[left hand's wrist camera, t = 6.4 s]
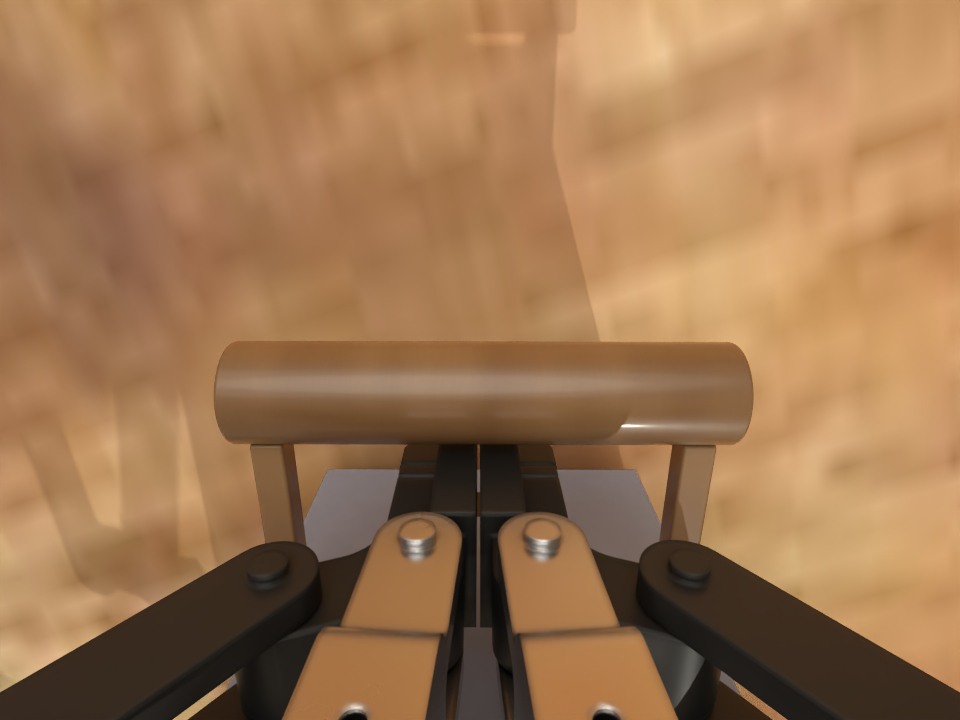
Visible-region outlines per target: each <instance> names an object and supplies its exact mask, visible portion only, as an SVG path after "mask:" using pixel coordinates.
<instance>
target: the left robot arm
mask: <svg viewBox="0 0 960 720" xmlns="http://www.w3.org/2000/svg"><path fill="white" fill-rule="evenodd" d="M476 586H477V445H466V444H408V445H407V446H406V447H405V449H404V454H403V458H402V462H401V466H400V470H399V474H398V478H397V483H396V487H395V491H394V495H393V499H392V503H391V507H390V512H389V516H388V520H387V522H386V523H384V524H383V525H382V526H381V527H380V528H379V529H378V531H377V532H376V534H375V536H374V538H373V541H372V543H371V544H370V545H369V546H367V547H366V548H364V549H362V550H360V551H358V552H355V553H353V554H350V555H347V556H343V557H339V558H335V559H330V560H326V561H322V562H318V558H317V555H316V554H315V552H314V551H313V550H312V549H310V548H309V547H307V546H306V545H304V544H301V543H297V542H291V541H277V542H270V543H265V544H262V545H258V546H256V547H253V548H251V549H249V550H247V551H245V552H243V553H241V554H239V555H238V556H236V557H234V558H232V559H231V560H229V561H227V562H225V563H224V564H222V565H220V566H218V567H217V568H215V569H213V570H212V571H210V572H208V573H206V574H205V575H203V576H201V577H199V578H198V579H196V580H194V581H193V582H191V583H189V584H187V585H186V586H184V587H182V588H180V589H179V590H177V591H175V592H173V593H172V594H170V595H168V596H167V597H165V598H163V599H161V600H160V601H158V602H156V603H154V604H153V605H151V606H149V607H147V608H146V609H144V610H142V611H141V612H139V613H137V614H135V615H134V616H132V617H130V618H128V619H127V620H125V621H123V622H122V623H120V624H118V625H116V626H115V627H113V628H111V629H109V630H108V631H106V632H104V633H102V634H101V635H99V636H97V637H96V638H94V639H92V640H90V641H89V642H87V643H85V644H83V645H82V646H80V647H78V648H76V649H75V650H73V651H71V652H70V653H68V654H66V655H64V656H63V657H61V658H59V659H57V660H56V661H54V662H52V663H51V664H49V665H47V666H45V667H44V668H42V669H40V670H38V671H37V672H35V673H33V674H31V675H30V676H28V677H26V678H25V679H23V680H21V681H19V682H18V683H16V684H14V685H12V686H11V687H9V688H7V689H5V690H4V691H2V692H0V720H172V719H174V718H175V717H176V716H178V715H179V714H181V713H182V712H183V711H185V710H186V709H187V708H189V707H190V706H191V705H193V704H194V703H195V702H197V701H198V700H200V699H201V698H202V697H204V696H205V695H206V694H208V693H209V692H210V691H212V690H213V689H214V688H216V687H217V686H218V685H220V684H221V683H223V682H224V681H225V680H227V679H228V678H229V677H231V676H232V675H233V674H235V678H236V684H235V685H233V686H232V687H231V688H229V689H228V690H227V691H225V692H224V693H223V694H221V695H220V696H219V697H217V698H216V699H215V700H213V701H212V702H211V703H209V704H208V705H207V706H205V707H204V708H203V709H201V710H200V711H199V712H197V713H196V714H195V715H193V716H192V717H191V718H189V719H188V720H458V717H459V708H460V700H461V691H462V683H463V674H464V627H476ZM480 628H492V646H493V652H494V654H495V657H496V674H497V683H498V691H499V700H500V708H501V717H502V720H772V719H771V718H769V717H768V716H767V715H765V714H764V713H763V712H761V711H760V710H759V709H757V708H756V707H755V706H753V705H752V704H751V703H749V702H748V701H747V700H745V699H744V698H743V697H741V696H740V695H739V694H737V693H736V692H735V691H733V690H732V689H731V688H729V687H728V686H727V685H725V684H724V683H723V682H721V681H720V676H721V671H722V672H724V673H725V674H727V675H728V676H729V677H731V678H732V679H733V680H735V681H736V682H737V683H739V684H740V685H741V686H743V687H744V688H746V689H747V690H748V691H750V692H751V693H752V694H754V695H755V696H756V697H758V698H759V699H760V700H762V701H763V702H765V703H766V704H767V705H769V706H770V707H771V708H773V709H774V710H775V711H777V712H778V713H779V714H781V715H782V716H784V717H785V718H786V719H787V720H960V692H958V691H956V690H954V689H953V688H951V687H949V686H948V685H946V684H944V683H942V682H941V681H939V680H937V679H935V678H934V677H932V676H930V675H929V674H927V673H925V672H923V671H922V670H920V669H918V668H916V667H915V666H913V665H911V664H909V663H908V662H906V661H904V660H903V659H901V658H899V657H897V656H896V655H894V654H892V653H890V652H889V651H887V650H885V649H883V648H882V647H880V646H878V645H877V644H875V643H873V642H871V641H870V640H868V639H866V638H864V637H863V636H861V635H859V634H858V633H856V632H854V631H852V630H851V629H849V628H847V627H845V626H844V625H842V624H840V623H838V622H837V621H835V620H833V619H832V618H830V617H828V616H826V615H825V614H823V613H821V612H819V611H818V610H816V609H814V608H812V607H811V606H809V605H807V604H806V603H804V602H802V601H800V600H799V599H797V598H795V597H793V596H792V595H790V594H788V593H787V592H785V591H783V590H781V589H780V588H778V587H776V586H774V585H773V584H771V583H769V582H767V581H766V580H764V579H762V578H761V577H759V576H757V575H755V574H754V573H752V572H750V571H748V570H747V569H745V568H743V567H742V566H740V565H738V564H736V563H735V562H733V561H731V560H729V559H728V558H726V557H724V556H722V555H721V554H719V553H717V552H716V551H714V550H712V549H710V548H708V547H705V546H703V545H700V544H697V543H693V542H689V541H684V540H665V541H660V542H656V543H654V544H652V545H650V546H648V547H647V548H646V549H645V550H644V551H643V552H642V554H641V556H640V559H639V563H638V562H633V561H629V560H624V559H620V558H616V557H612V556H608V555H605V554H603V553H600V552H597V551H596V550H594V549H592V548H590V546H589V543H588V541H587V538H586V536H585V534H584V532H583V531H582V529H581V528H580V527H579V526H578V525H577V524H576V523H574V522H573V521H571V520H570V519H568V515H567V511H566V506H565V502H564V498H563V493H562V489H561V485H560V480H559V478H558V472H557V467H556V466H555V459H554V454H553V450H552V448H551V447H550V446H549V445H480Z"/></svg>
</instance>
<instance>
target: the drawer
mask: <svg viewBox="0 0 960 720" xmlns="http://www.w3.org/2000/svg"><path fill="white" fill-rule="evenodd" d="M214 407H215V414H216V419H217V423H218V426H219V429H220V431H221V433H222V435H223V436H224V437H225V439H226V440H228V441H229V442H231V443H233V444H251V446H250V449H251V455H252V462H253V468H254V474H255V480H256V486H257V492H258V499H259V505H260V511H261V517H262V523H263V529H264V535H265V542H266V543H270V542H277V541H291V542H297V543H301V544H304V545H306V546H307V547H309V548H310V549H312V550H313V551H314V552H315V554H316V555H317V558H318V562H322V561H326V560H330V559H335V558H339V557H343V556H347V555H350V554H353V553H355V552H358V551H360V550H362V549H364V548H366V547H367V546H369V545H370V544H371V543H372V541H373V538H374V536H375V534H376V532H377V531H378V529H379V528H380V527H381V526H382V525H383V524H384V523H386V522H387V520H388V516H389V512H390V507H391V503H392V499H393V495H394V491H395V487H396V483H397V478H398V474H399V470H400V469H329V470H327V472H326V474H325V477H324V479H323V481H322V483H321V485H320V488H319V490H318V492H317V494H316V496H315V498H314V501H313V503H312V505H311V507H310V509H309V512H308V514H307V516H306V518H305V520H304V522H303V514H302V507H301V499H300V492H299V484H298V476H297V469H296V461H295V453H294V446H293V444H466V445H672V452H671V460H670V467H669V474H668V481H667V488H666V495H665V502H664V509H663V517H662V524H661V523H660V521H659V519H658V517H657V515H656V513H655V510H654V508H653V506H652V504H651V502H650V500H649V498H648V495H647V493H646V491H645V489H644V487H643V485H642V483H641V480H640V478H639V476H638V474H637V472H636V470H557V472H558V478H559V480H560V485H561V489H562V493H563V498H564V502H565V506H566V511H567V515H568V519H570V520H571V521H573V522H574V523H576V524H577V525H578V526H579V527H580V528H581V529H582V531H583V532H584V534H585V536H586V538H587V541H588V543H589V546H590V548H592V549H594V550H596V551H597V552H600V553H603V554H605V555H608V556H612V557H616V558H620V559H624V560H629V561H633V562H638V563H639V559H640V556H641V554H642V552H643V551H644V550H645V549H646V548H647V547H648V546H650V545H652V544H654V543H656V542H660V541H665V540H684V541H689V542H693V543H697V544H700V540H701V534H702V528H703V523H704V517H705V511H706V505H707V499H708V494H709V488H710V482H711V476H712V470H713V464H714V459H715V453H716V446H715V445H733V444H736V443H738V442H739V441H740V440H741V439H742V438H743V437H744V435H745V434H746V432H747V430H748V427H749V424H750V420H751V416H752V410H753V383H752V376H751V372H750V368H749V364H748V362H747V359H746V357H745V355H744V353H743V352H742V350H741V349H740V348H739V347H738V346H737V345H735V344H733V343H730V342H370V341H237V342H234V343H232V344H230V345H229V346H228V347H227V348H226V349H225V351H224V352H223V354H222V356H221V358H220V361H219V364H218V367H217V371H216V377H215V384H214ZM720 681H721V682H723V683H724V684H725V685H727V686H728V687H729V688H731V689H732V690H733V691H735V692H736V693H737V694H739V695H740V693H739V691H738V689H737V687H736V684H735V682H734V680H733V679H732V678H731V677H729V676H728V675H727V674H725V673H724V672H722V671H721V676H720ZM235 684H236V678H235V674H234V675H233V677H232V679H231V682H230V684H229V686H228V688H227V690H228V689H229V688H231V687H232V686H233V685H235ZM227 690H226V691H227ZM740 696H741V695H740ZM458 720H502V717H501V708H500V700H499V691H498V683H497V674H496V657H495V654H494V652H493V646H492V628H480V469H477V586H476V627H464V674H463V683H462V691H461V700H460V708H459V717H458Z"/></svg>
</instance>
